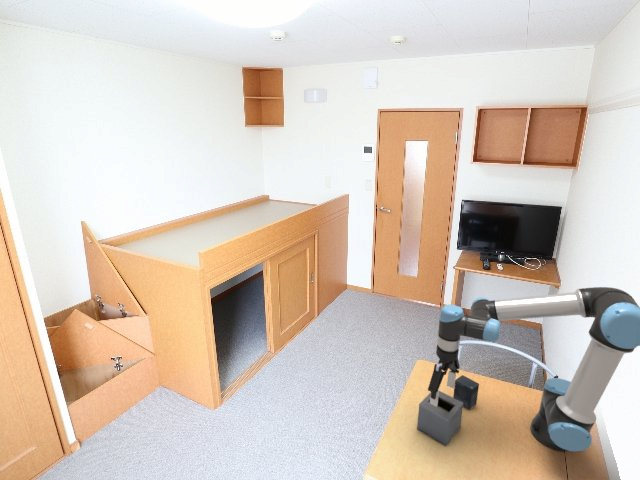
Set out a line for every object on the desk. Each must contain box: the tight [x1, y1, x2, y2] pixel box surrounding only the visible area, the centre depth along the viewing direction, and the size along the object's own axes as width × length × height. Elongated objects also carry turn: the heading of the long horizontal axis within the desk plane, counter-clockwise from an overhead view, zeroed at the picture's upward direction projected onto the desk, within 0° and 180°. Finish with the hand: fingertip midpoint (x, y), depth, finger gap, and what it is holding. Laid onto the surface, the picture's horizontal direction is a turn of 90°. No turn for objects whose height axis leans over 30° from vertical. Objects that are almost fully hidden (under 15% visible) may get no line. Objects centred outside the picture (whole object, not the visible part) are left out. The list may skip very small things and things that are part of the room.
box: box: [452, 374, 480, 411], centre depth 162 cm, size 8×6×11 cm
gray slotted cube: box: [416, 389, 464, 447], centre depth 148 cm, size 12×12×12 cm
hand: (442, 395), depth 145 cm, fingers open, 13 cm apart
